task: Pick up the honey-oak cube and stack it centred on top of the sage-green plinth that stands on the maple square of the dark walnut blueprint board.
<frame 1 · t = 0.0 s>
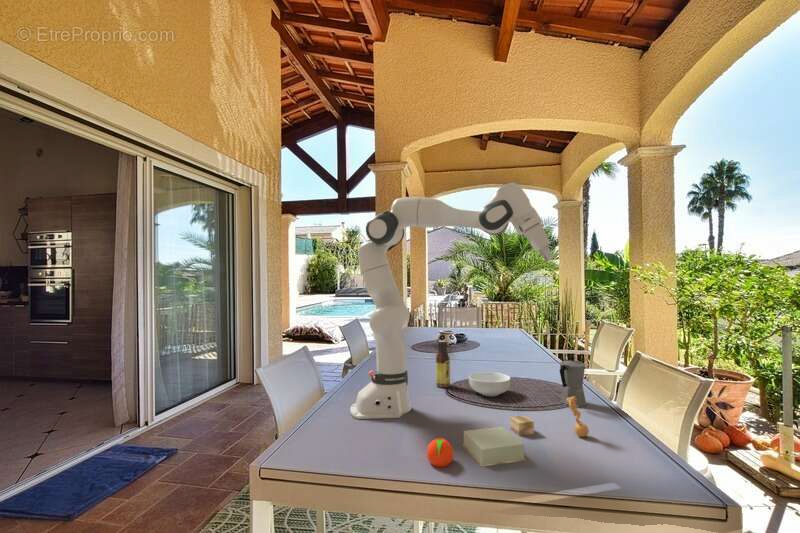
hand: (549, 259, 130), 54 cm above the table, tool tilted 30°, fingers open, 8 cm apart
clementine: (440, 468, 101), on the table
plinth block: (492, 451, 106), point 1 cm above the table, touching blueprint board
cereal bowl: (489, 394, 161), on the table
sauce bottle: (443, 386, 172), on the table
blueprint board: (492, 455, 106), on the table
coffeepot: (571, 404, 147), on the table
oak cube: (522, 435, 120), on the table
figurine: (577, 436, 119), on the table
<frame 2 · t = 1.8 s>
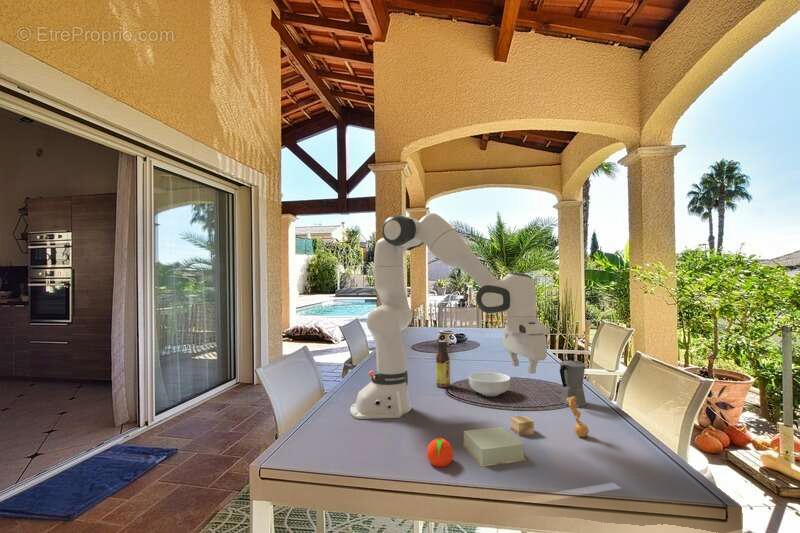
hand: (523, 369, 120), 20 cm above the table, tool pointing down, fingers open, 8 cm apart
nothing on the table moved.
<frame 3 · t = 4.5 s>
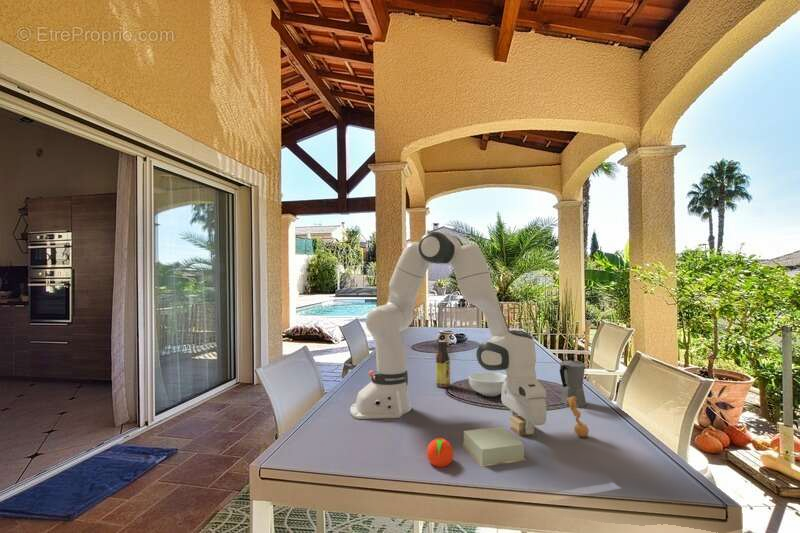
hand: (522, 428, 120), 2 cm above the table, tool pointing down, fingers closed on oak cube, 5 cm apart
oak cube: (522, 435, 120), on the table, touching gripper
everything else where it was.
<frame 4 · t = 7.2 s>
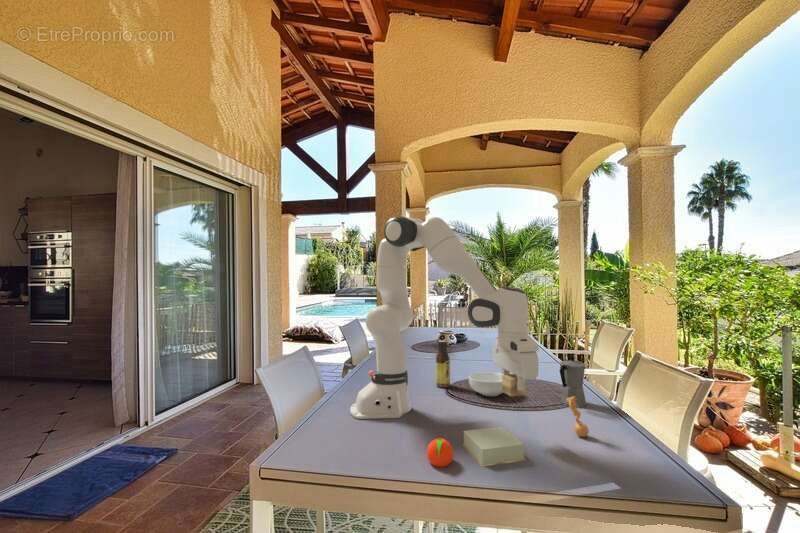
hand: (513, 386, 116), 16 cm above the table, tool pointing down, fingers closed on oak cube, 5 cm apart
oak cube: (513, 393, 116), point 14 cm above the table, touching gripper
everything else where it was.
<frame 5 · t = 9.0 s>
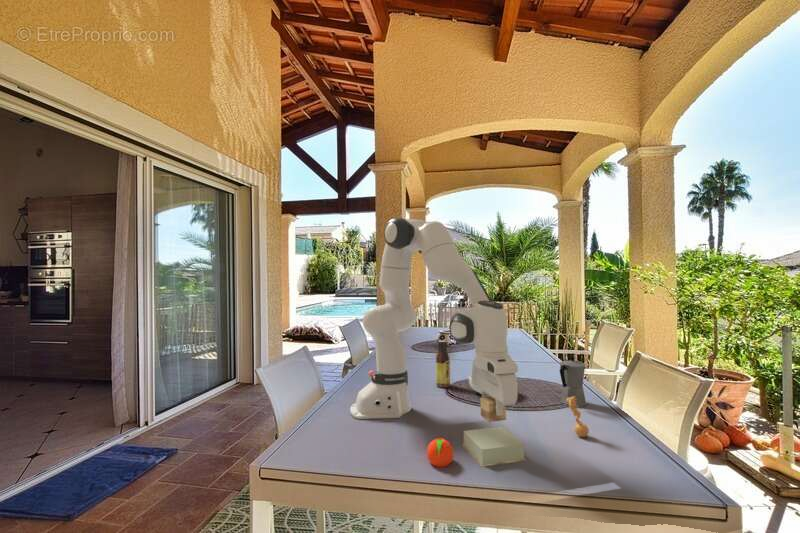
hand: (492, 410, 107), 12 cm above the table, tool pointing down, fingers closed on oak cube, 5 cm apart
oak cube: (493, 417, 107), point 11 cm above the table, touching gripper
everything else where it was.
when the fingers open (8 cm above the table, at t = 10.2 s): oak cube drops 1 cm, resting on plinth block.
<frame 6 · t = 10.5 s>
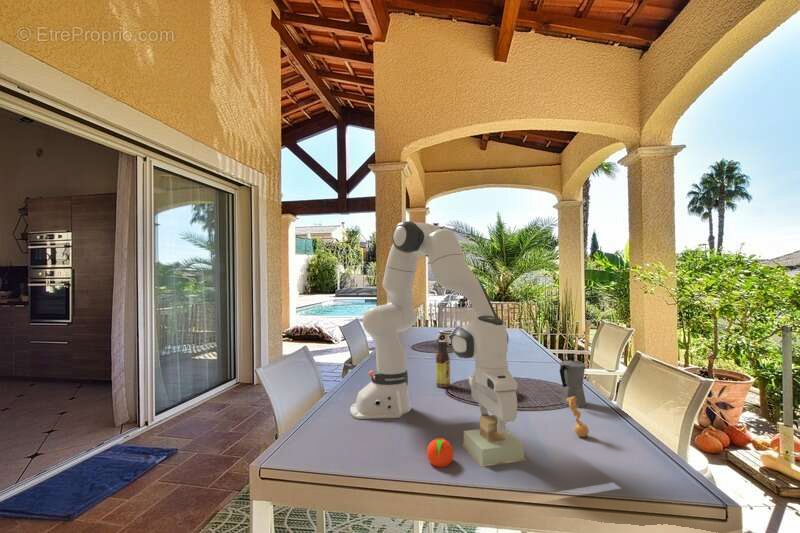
hand: (492, 425, 107), 8 cm above the table, tool pointing down, fingers open, 7 cm apart
plinth block: (492, 451, 106), point 1 cm above the table, touching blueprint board, oak cube
oak cube: (492, 437, 107), point 5 cm above the table, touching plinth block
everything else where it was.
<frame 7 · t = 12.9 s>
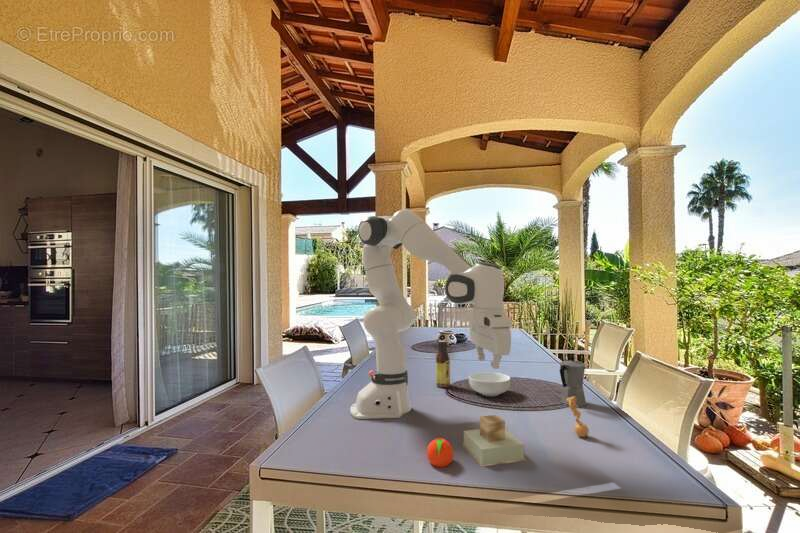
hand: (487, 363, 114), 23 cm above the table, tool pointing down, fingers open, 8 cm apart
nothing on the table moved.
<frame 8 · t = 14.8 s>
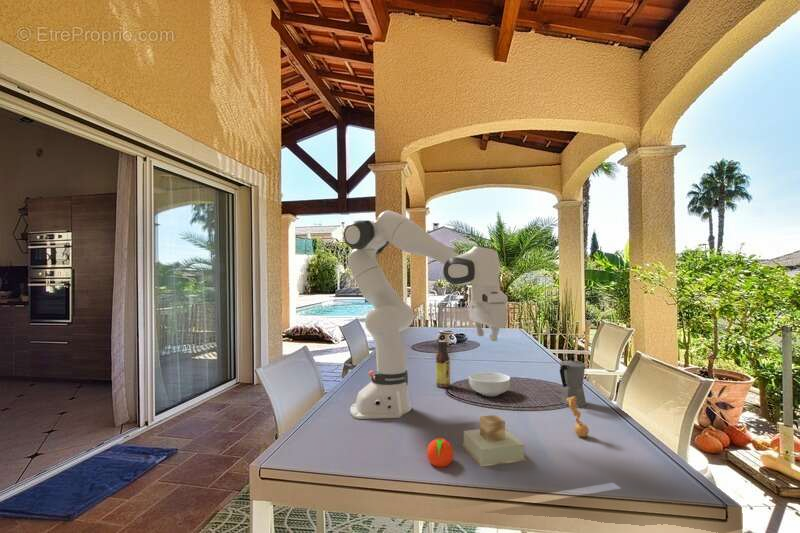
hand: (486, 338, 125), 29 cm above the table, tool pointing down, fingers open, 8 cm apart
nothing on the table moved.
at the end: oak cube inside the target area on the plinth block (0.0 cm from its centre), point 4.0 cm above the plinth block's base; oak cube tilted 0°; the gripper is holding nothing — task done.
